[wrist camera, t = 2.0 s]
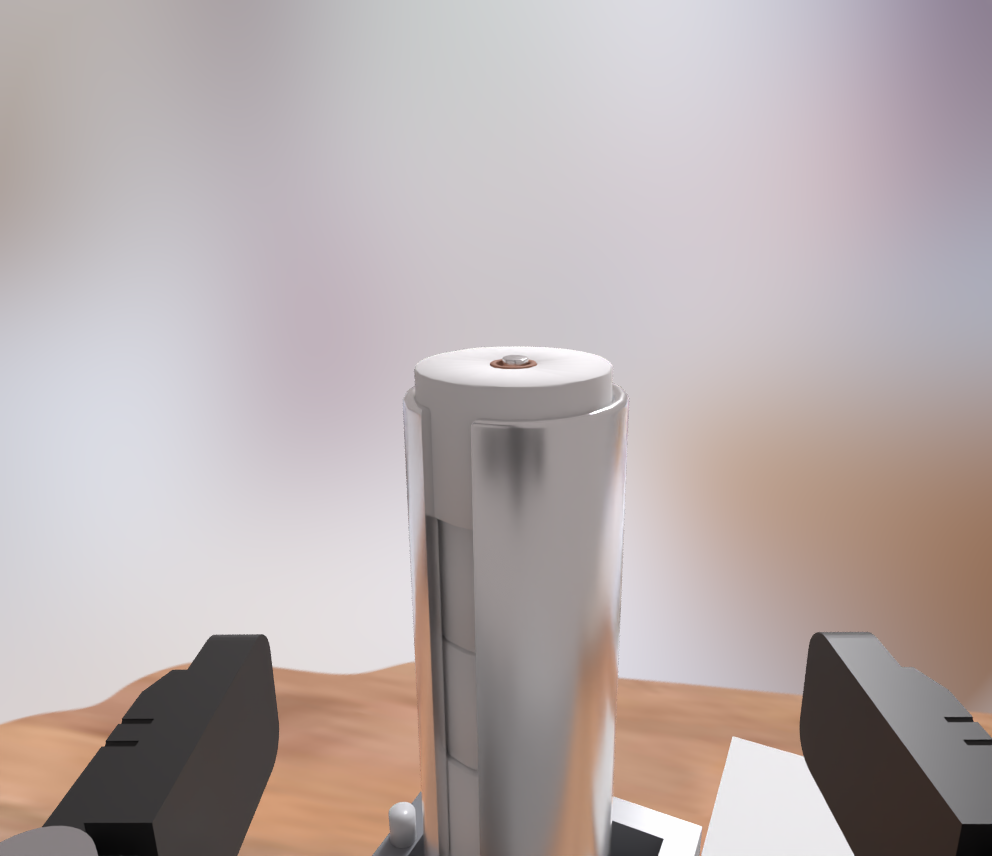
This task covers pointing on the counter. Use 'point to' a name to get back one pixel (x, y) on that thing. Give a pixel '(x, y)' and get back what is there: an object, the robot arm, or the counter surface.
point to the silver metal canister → (516, 597)
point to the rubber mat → (770, 808)
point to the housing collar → (634, 841)
